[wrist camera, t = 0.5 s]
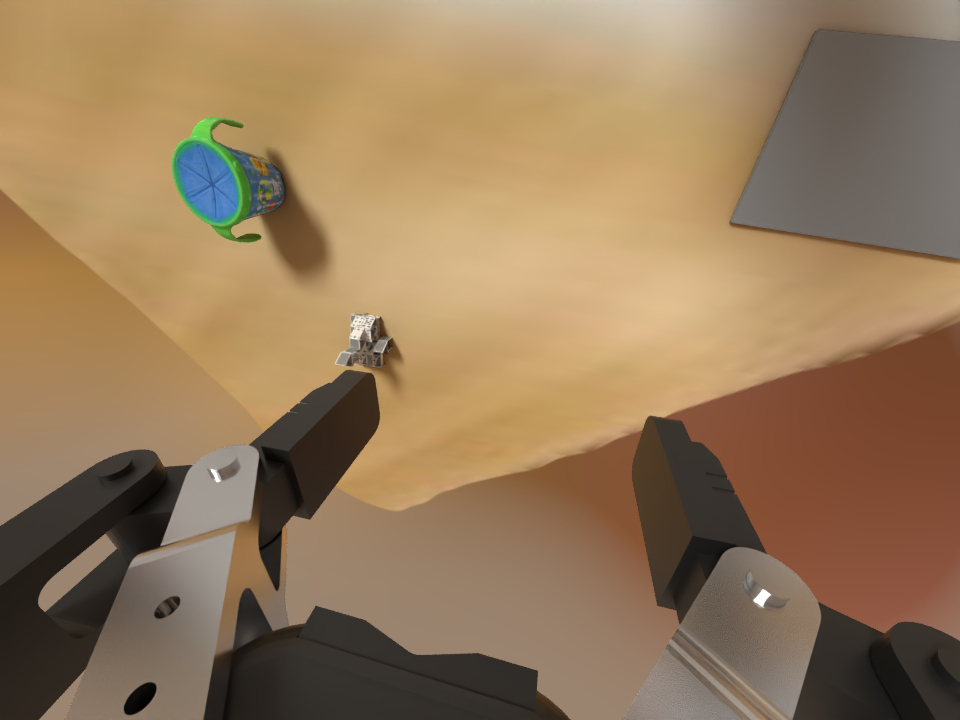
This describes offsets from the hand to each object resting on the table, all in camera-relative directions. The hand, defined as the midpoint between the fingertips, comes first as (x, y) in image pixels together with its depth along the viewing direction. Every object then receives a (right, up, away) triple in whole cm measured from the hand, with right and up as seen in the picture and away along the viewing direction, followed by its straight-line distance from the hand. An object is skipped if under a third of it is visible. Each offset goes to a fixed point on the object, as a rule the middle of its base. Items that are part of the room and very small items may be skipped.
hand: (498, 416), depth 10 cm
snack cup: (-25, +22, +29) cm, 44 cm away
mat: (+31, +18, +17) cm, 40 cm away
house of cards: (-13, +4, +36) cm, 38 cm away
